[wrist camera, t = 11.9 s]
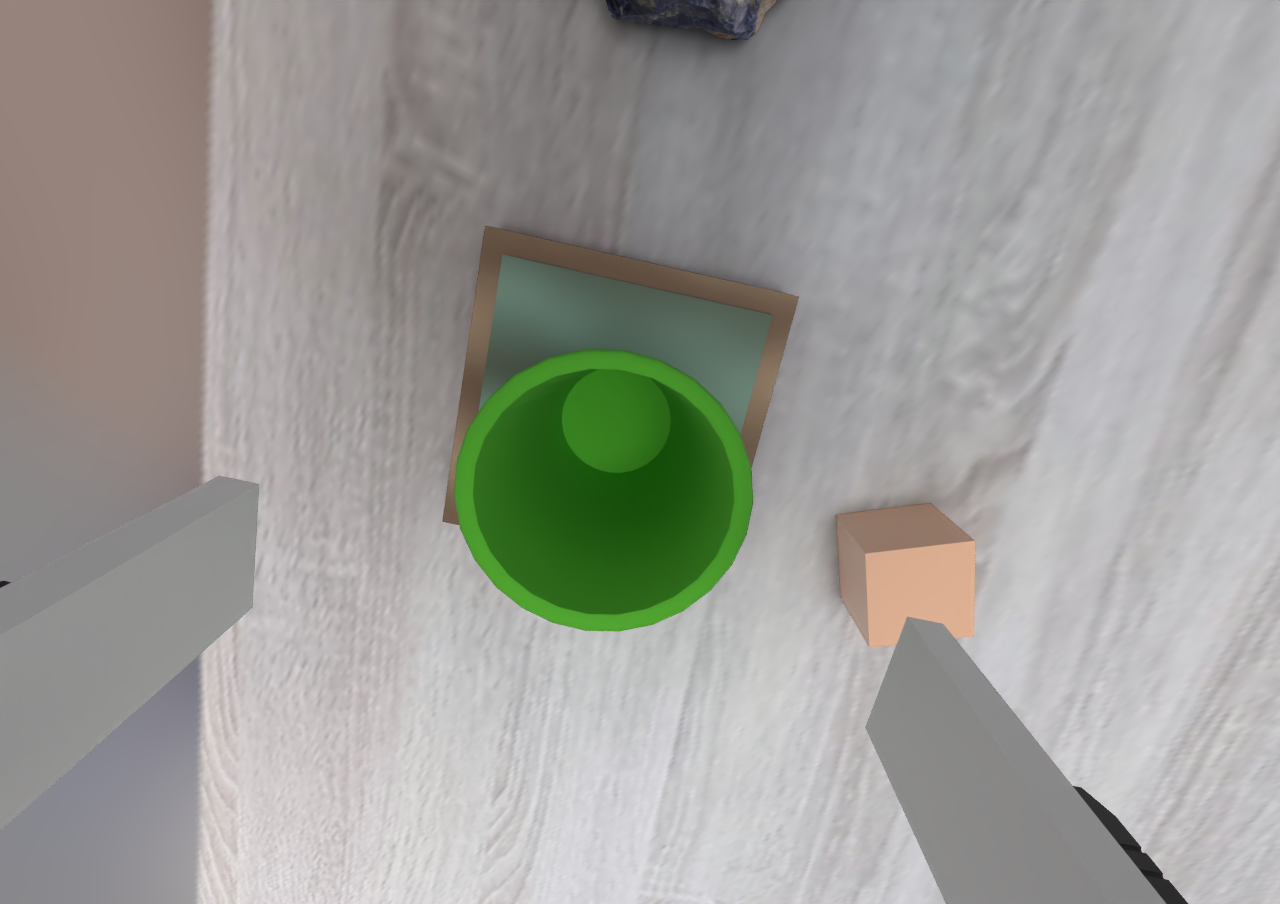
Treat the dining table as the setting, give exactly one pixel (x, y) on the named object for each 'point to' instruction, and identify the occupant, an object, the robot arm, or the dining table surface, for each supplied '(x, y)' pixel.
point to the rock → (697, 14)
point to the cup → (603, 489)
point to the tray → (618, 325)
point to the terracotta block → (905, 571)
